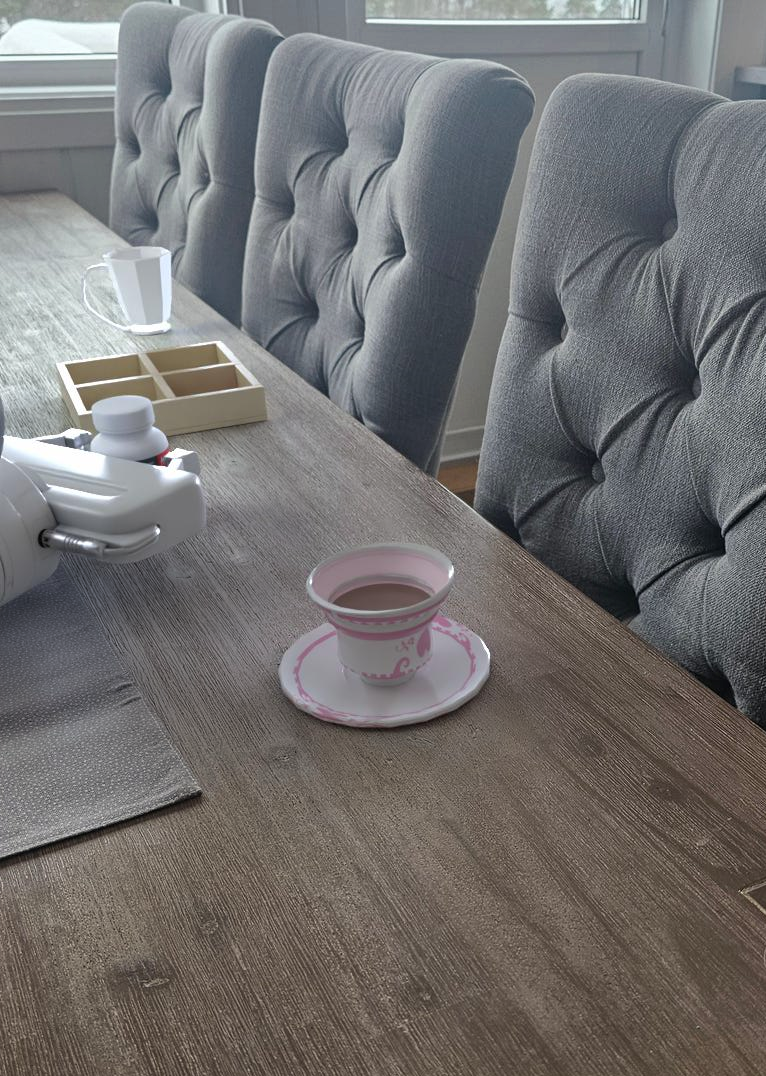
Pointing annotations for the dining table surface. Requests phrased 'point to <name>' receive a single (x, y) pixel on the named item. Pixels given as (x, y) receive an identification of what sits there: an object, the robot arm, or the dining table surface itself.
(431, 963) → the dining table surface
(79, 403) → the divided tray
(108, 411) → the pill bottle
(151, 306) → the cup
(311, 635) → the teacup
